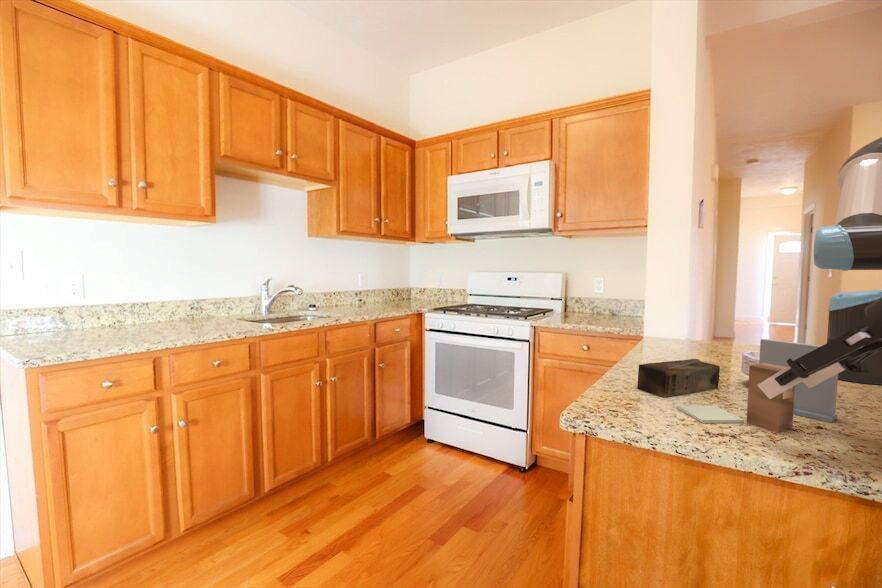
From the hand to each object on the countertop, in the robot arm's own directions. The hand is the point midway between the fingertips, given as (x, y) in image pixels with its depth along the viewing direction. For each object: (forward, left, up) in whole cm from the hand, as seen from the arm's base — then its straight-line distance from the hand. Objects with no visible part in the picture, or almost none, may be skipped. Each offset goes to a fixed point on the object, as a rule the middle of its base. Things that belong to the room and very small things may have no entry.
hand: (784, 386), depth 72 cm
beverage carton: (+4, -25, -9) cm, 27 cm away
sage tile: (+8, -8, -8) cm, 14 cm away
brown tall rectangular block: (0, -3, -8) cm, 9 cm away
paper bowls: (-21, -25, -8) cm, 33 cm away
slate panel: (-11, -10, -8) cm, 17 cm away
